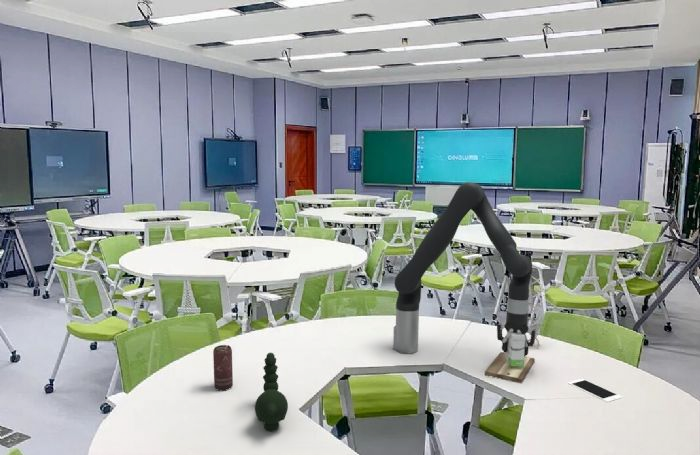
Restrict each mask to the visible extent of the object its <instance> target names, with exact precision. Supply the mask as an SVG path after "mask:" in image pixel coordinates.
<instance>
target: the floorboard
mask: <svg viewBox="0 0 700 455" xmlns="http://www.w3.org/2000/svg"><path fill="white" fill-rule="evenodd" d="M535 360H536V359H535V358H534V357H531V356H528V355H526V356H524V366H510V364H509V362H508V360H507V359H506V353H505V352H504V351H503V352H502V351H500V352H499V353H498V354H497V356H495V358H494V359H493V360H492V362H491V363H490V364H489V365H488V367H487V368H486V369H485V370H484V376H486V377H490V376H492V377H491V378H495V377H497V378H496V379H499V378H501V379H500V380H504V379H505V381H509V380H510V381H509V382H514V383H518V384H522V383H523V382H524V381H525V379H526V377H527V375H528V373H529V371H530V370H531V369H532V367H533V366H534V364H535Z"/></svg>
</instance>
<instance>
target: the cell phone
mask: <svg viewBox="0 0 700 455" xmlns="http://www.w3.org/2000/svg"><path fill="white" fill-rule="evenodd" d="M567 384H568V385H570V386H572V385H573V386H572V387H574V386H575V388H576V387H577V389H578V388H579V389H578V390H581V391H583V392H586V393H587V394H589V395H591V396H593V397H595V398H597V399H600V400H601V401H604V402H606V403H610V402H613V401H616V400H620V399H623V398H624V396H622V395H621V394H619V393H615V392H613V391H611V390H609V389H607V388H604V387H602V386H600V385H598V384H595V383H594V382H592V381H589V380H587V379H585V378H579V379H575V380H571V381H568V382H567Z"/></svg>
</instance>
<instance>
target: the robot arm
mask: <svg viewBox="0 0 700 455" xmlns="http://www.w3.org/2000/svg"><path fill="white" fill-rule="evenodd" d="M470 211H472V212H473V213H474V215H476V217H477V218H478V219H479V221H480V222H481V225H482V227H483V228H484V231H485V233H486V235H487V237H488V239H489V241H490V243H491V244H492V245H493V247H495V249H496V251H497V252H498V254H499V255H500V258H501V260H502V261H503V264H504V266H505V268H506V270H507V271H508V272H509V274H511V275H512V276H511V281H510V282H509V285H508V293H507V295H508V296H507V303H506V318H505V323H502V322H499V323H498V324H497V325H496V333H497V334H496V338H497V340H498V341H500V342H501V344H502V345H501V346H502V347H501V350H502V351H503V352H504V353H506V352H507V339H508V338H509V336H510V332H513V333H514V332H515V333H518V334H524V335H525V350H524V356H528V354H529V350H530V349H529V347H533V346H534V345H535V341H536V339H535V336H536V334H537V328H533V329H532V328H530V327H529V328H528V326H529V323H528V321H529V319H528V317H529V314H528V312H530V309H529V308H530V307H529V306H530V305H529V303H530V302H529V300H528V299H529V297H530V296H529V295H530V292H529V291H530V290H529V289H530V286H529V284H531V283H530V282H531V279H532V277H531V276H532V272H533V263H532V260H531V259H530V257H529V256H527V255H524V254H520V252H519V251H518V249H517V242H516V241H515V239H514V238H513V236H512V234H510V233H509V231H508V229H507V228H506V227H505V225H504V223H503V222H502V221H501V220H500V219H499V217H498V215H497V214H496V212H495V210H494V209H493V207H492V205H491V202H490V201H489V200H488V197H487V194H486V193H485V191H484V189H483V187H482V186H481V185H480V184H478V183H475V182H465V183H462V184H461V185H460V186H459V187H458V188H457V189H456V190H455V192H454V194H453V195H452V199H451V200H450V202H449V203H448V205H447V207H446V208H445V209H444V211H443V213H442V214H441V215H440V216H439V217H438V218H437V219H436V221H435V222H434V224H433V225H431V226H432V227H430V228H429V230H428V232H427V233H426V235H425V236H424V238H423V239H422V241H421V242H420V244H419V245H418V247H417V248H416V250H415V252H414V254H413V256H412V257H411V259H410V260H409V261H408V263H407V264H406V265H405V266H404V267H403V268H402V269H401V270H400V271H399V273H397V274H396V276H395V278H394V287H395V289H396V291H397V292H398V295H397V298H396V303H395V326H393V340H392V342H393V343H392V344H393V345H392V346H393V347H392V348H393V349H392V350H395V352H396V351H397V352H399V353H401V354H414V353H416V352H418V351H419V329H420V328H419V323H420V303H421V299H422V298H421V297H422V278H423V276H424V274H425V273H426V271H427V270H428V269H430V267H431V266H433V264H434V263H435V262H436V261H437V260H438V259H439V258H440V256H441V255H443V254H444V252H445V251H446V249H447V248H448V246H449V245H450V244H451V242H452V241H453V239H454V237H455V235H456V234H457V231H458V228H459V226H460V223H461V222H462V221H463V219H464V218H465V217H466V216H467V214H468V213H469V212H470ZM528 302H529V303H528ZM504 329H505V330H506V334H505V336H503V330H504ZM507 332H508V333H507ZM528 332H529V333H528ZM527 333H528V334H530V335H529V336H530V338H529V339H530V341H528V340H529V339H528V337H527V335H526V334H527Z"/></svg>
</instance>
